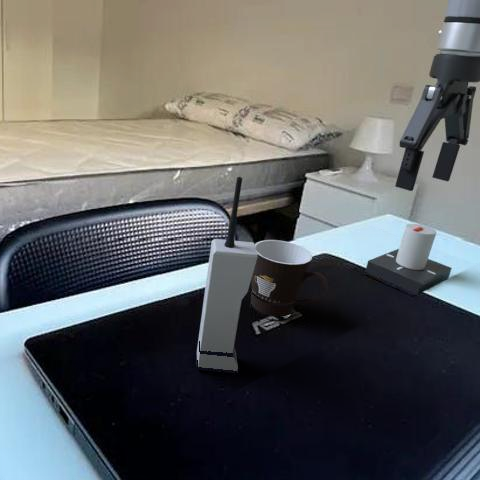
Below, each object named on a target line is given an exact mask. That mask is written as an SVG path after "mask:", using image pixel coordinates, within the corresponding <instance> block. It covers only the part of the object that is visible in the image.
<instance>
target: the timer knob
mask: <svg viewBox="0 0 480 480" xmlns="http://www.w3.org/2000/svg"><path fill="white" fill-rule="evenodd" d="M436 235H437V230H435V229H434V228H432V227H430V226H427V225H423V224H420V223H408V224H406V225H405V228H404V231H403V233H402V237H401V241H400V244H399V248H398V249H399V251H398V254H397V257H396V262H397V263H398V264H399V265H401V266H403V267H406V268H409V269H414V270H423V269H424V268H425V266H426V263H427V260H428V259H429V257H430V254H431V250H432V248H433V245H434V242H435V239H436Z"/></svg>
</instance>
